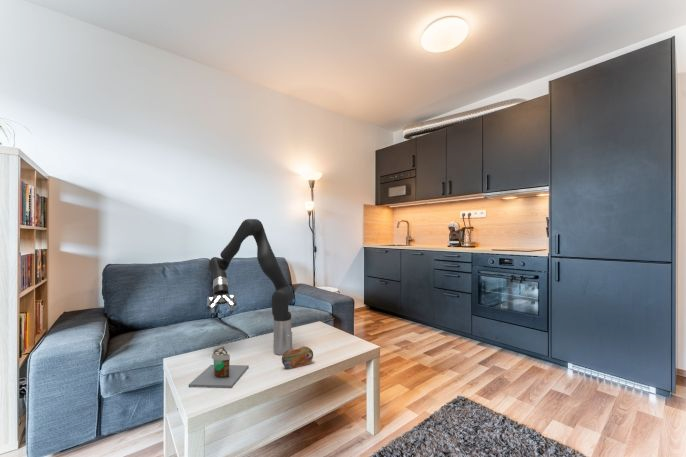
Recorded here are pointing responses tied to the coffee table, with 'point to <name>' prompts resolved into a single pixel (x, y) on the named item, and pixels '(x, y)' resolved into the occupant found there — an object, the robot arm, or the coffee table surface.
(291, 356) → the tin
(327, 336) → the coffee table surface
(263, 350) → the coffee table surface
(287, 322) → the robot arm
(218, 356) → the food container
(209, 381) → the slate board
